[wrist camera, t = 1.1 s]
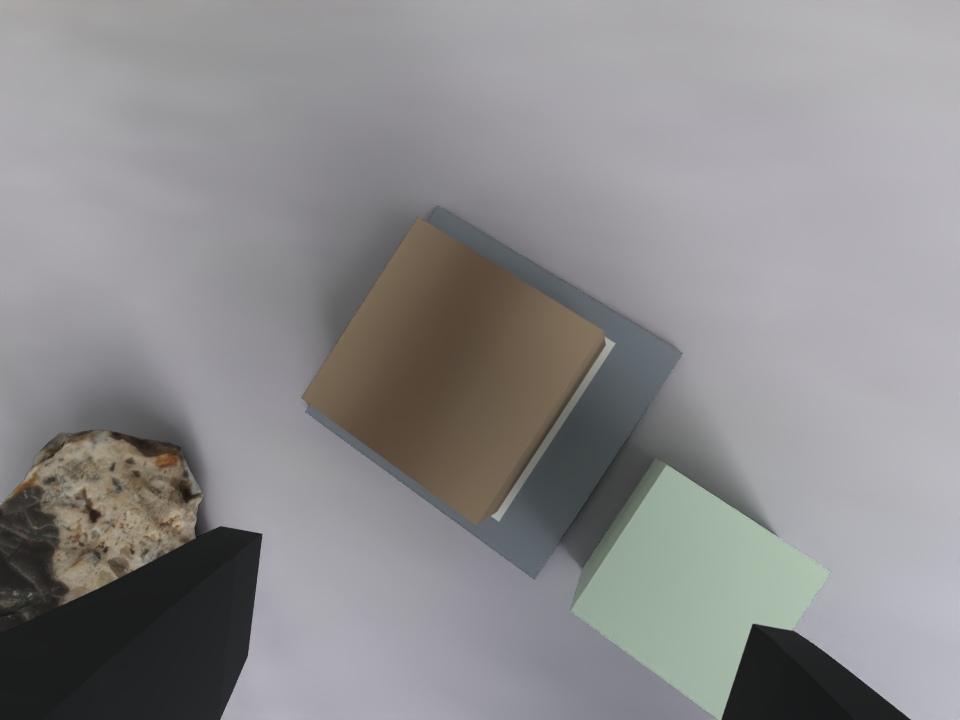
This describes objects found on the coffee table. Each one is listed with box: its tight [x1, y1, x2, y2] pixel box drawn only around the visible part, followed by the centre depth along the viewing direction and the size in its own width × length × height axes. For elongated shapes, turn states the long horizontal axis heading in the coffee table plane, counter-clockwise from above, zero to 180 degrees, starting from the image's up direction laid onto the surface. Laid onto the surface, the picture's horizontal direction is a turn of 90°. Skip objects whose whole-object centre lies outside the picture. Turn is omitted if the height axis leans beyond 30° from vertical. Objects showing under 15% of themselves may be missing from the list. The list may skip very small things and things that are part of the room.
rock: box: [0, 430, 204, 633], centre depth 20 cm, size 9×7×10 cm
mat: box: [305, 206, 683, 579], centre depth 21 cm, size 9×8×1 cm
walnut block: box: [301, 217, 606, 525], centre depth 20 cm, size 6×6×3 cm
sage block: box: [570, 458, 831, 720], centre depth 17 cm, size 4×4×5 cm
